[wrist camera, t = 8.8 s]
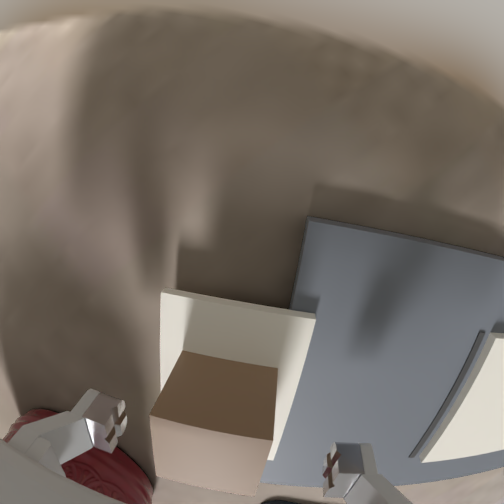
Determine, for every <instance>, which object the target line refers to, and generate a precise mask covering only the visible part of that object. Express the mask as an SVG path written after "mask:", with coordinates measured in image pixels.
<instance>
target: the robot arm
mask: <svg viewBox="0 0 504 504" xmlns="http://www.w3.org/2000/svg"><path fill="white" fill-rule="evenodd" d="M124 409H125V401H123V400H120V399H118V398H115V397H112V396H110V395H107V394H105V393H102V392H99V391H97V390H94V389H92V388H91V389H89V390H87V391H86V393H85V394H84V395H83V396H82V398H81V399H80V400H79V402H78V403H77V404H76V405H75V407H74V408H73V409H72V410H71V412H69V411H65V412H62V413H59V414H56V415H53V416H50V417H47V418H44V419H41V420H38V421H35V422H32V423H29V424H26V425H23V426H22V427H21V428H20V429H19V430H18V432H17V433H16V434H15V435H14V436H13V437H12V439H11V440H10V441H9V442H8V443H6V442H5V441H3V440H2V439H0V504H126V503H123V502H121V501H118V500H116V499H113V498H111V497H108V496H106V495H103V494H101V493H98V492H96V491H94V490H92V489H89V488H87V487H85V486H83V485H81V484H78V483H76V482H74V481H72V480H70V479H68V478H66V475H65V473H64V471H63V469H62V467H61V464H63V463H65V462H67V461H69V460H71V459H73V458H74V457H76V456H78V455H80V454H82V453H84V452H86V451H87V450H89V449H91V448H93V447H96V448H98V449H101V450H104V451H106V452H109V453H112V452H113V450H114V448H115V446H116V445H117V443H118V440H117V437H118V436H121V435H122V434H123V432H124V431H125V428H126V424H127V414H126V413H125V412H124V411H123V410H124ZM322 475H323V476H324V478H325V479H326V480H325V481H324V483H323V497H334V498H344V500H345V501H346V503H347V504H413V503H411V502H410V501H409V500H408V499H407V498H406V497H405V496H404V495H403V494H402V493H401V492H400V491H399V490H397V489H396V488H395V487H394V486H393V485H392V484H391V483H390V482H389V481H388V480H387V479H386V478H385V477H384V476H383V475H382V474H378V471H377V467H376V462H375V457H374V452H373V448H372V445H371V444H370V443H345V442H334V443H332V445H331V447H330V453H328V454H327V455H326V457H325V459H324V462H323V468H322Z"/></svg>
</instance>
